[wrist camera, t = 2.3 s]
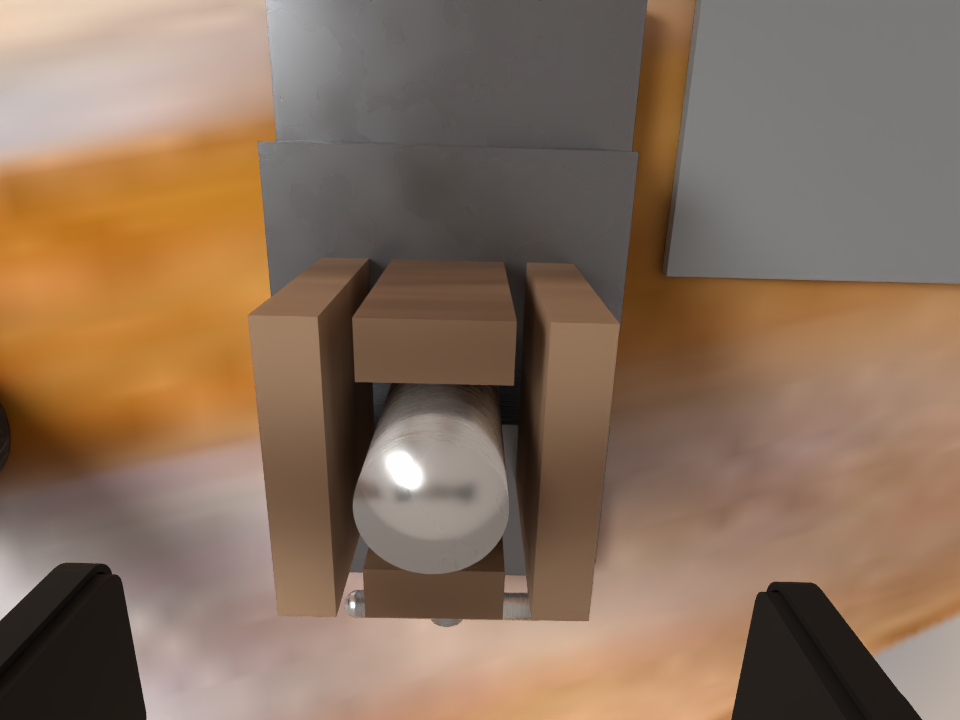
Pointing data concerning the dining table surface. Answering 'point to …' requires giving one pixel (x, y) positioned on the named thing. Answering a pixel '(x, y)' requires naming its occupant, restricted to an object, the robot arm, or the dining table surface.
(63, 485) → the dining table surface
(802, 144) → the mat
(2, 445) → the travel mug
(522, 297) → the vise
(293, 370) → the collar
